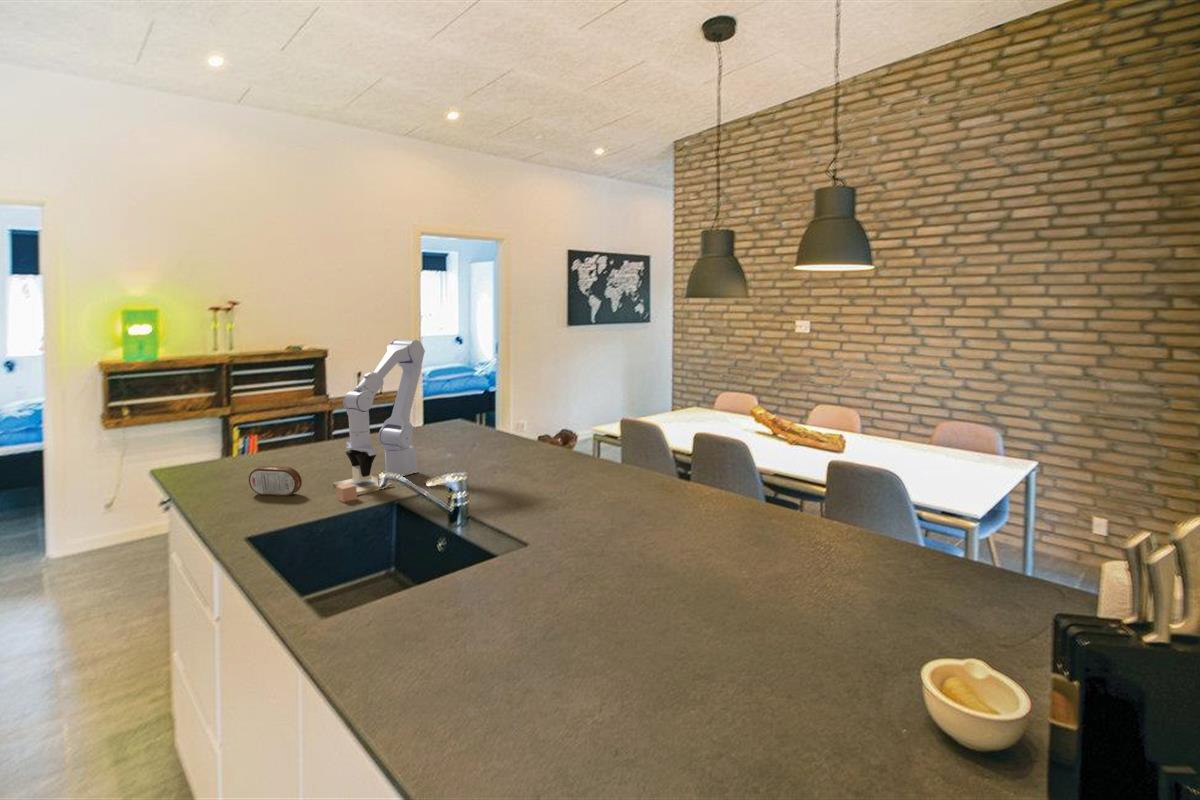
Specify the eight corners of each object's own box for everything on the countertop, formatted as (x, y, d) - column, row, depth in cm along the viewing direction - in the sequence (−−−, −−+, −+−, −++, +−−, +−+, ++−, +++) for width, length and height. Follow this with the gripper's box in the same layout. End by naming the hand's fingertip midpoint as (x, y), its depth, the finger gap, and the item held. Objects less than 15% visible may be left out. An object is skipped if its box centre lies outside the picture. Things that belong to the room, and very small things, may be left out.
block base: (365, 476, 190) (364, 464, 190) (371, 479, 188) (371, 466, 187) (352, 479, 188) (351, 466, 187) (359, 482, 185) (358, 469, 184)
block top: (350, 496, 179) (349, 483, 178) (357, 499, 176) (356, 485, 176) (336, 499, 176) (335, 486, 175) (343, 502, 173) (342, 489, 173)
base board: (369, 477, 197) (369, 474, 197) (392, 486, 188) (392, 483, 188) (332, 486, 188) (332, 482, 188) (355, 495, 179) (355, 492, 179)
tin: (303, 494, 181) (301, 466, 179) (297, 497, 178) (294, 469, 176) (255, 492, 182) (252, 464, 181) (248, 495, 179) (245, 467, 178)
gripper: (335, 429, 187) (338, 472, 189) (358, 436, 178) (361, 482, 180) (357, 425, 192) (359, 468, 195) (381, 432, 183) (383, 477, 185)
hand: (362, 474), depth 188 cm, fingers closed on block base, 4 cm apart
